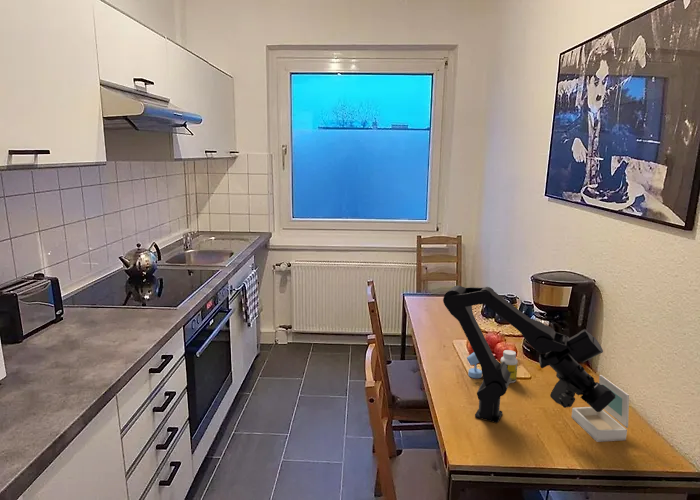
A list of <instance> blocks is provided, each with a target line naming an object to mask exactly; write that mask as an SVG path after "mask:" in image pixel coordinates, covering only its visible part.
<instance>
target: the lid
mask: <svg viewBox="0 0 700 500" xmlns="http://www.w3.org/2000/svg"><path fill="white" fill-rule="evenodd" d="M598 375H599V376H598V377H599V378H598V380H599V381H598V383H599V384H600V385H604V386H606V387H607V388H608V389H610V390H611V391H612V392H613V393H614V394H615V395H616V396H615V399H614V400H613V401H611V402H610V403H609V404H608V405H607V406H606V407H605V408H604V409H603V410H604V411H605V412H606V413H608V414H609V415H610V416H611V417H612V418H614V419H615V420H616V421H617V422H618V423H619V424H621V425H622V426H623V427H624V428H625V429H628V428H629V409H630V408H629V407H630V406H629V404H630V394H629V393H627V392H626V391H624V390H623V389H622V388H620V387H619V386H617V385H616V384H614V383H613V382H612V381H610V380H609V379H608V378H606V377H605V376H604V375H603V374H598Z"/></svg>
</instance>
